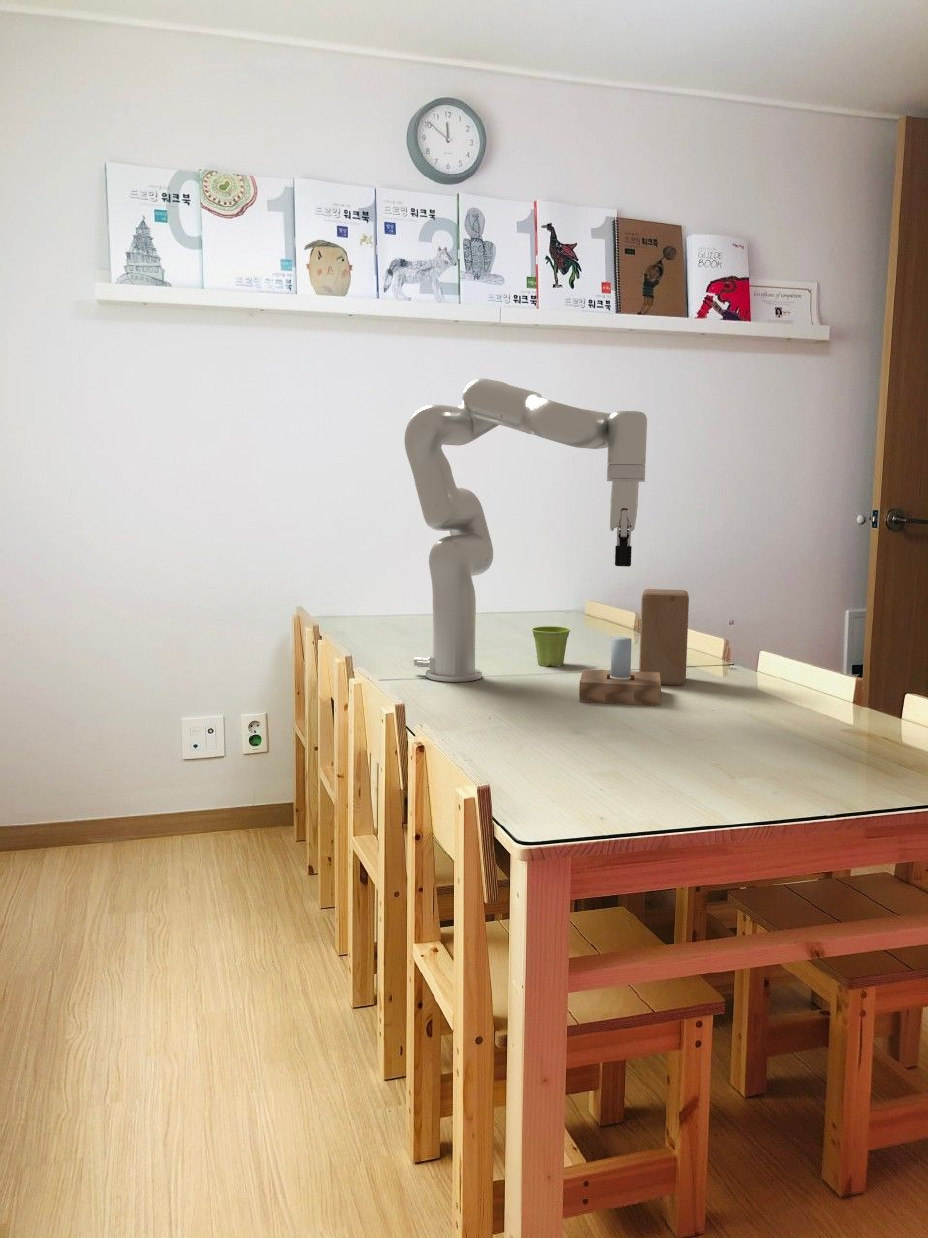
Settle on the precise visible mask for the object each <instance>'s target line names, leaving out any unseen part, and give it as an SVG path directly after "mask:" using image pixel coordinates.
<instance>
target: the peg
mask: <svg viewBox="0 0 928 1238" xmlns="http://www.w3.org/2000/svg"><path fill="white" fill-rule="evenodd" d="M610 648H611V649H610V650H611V652H610V653H611V655H610V670H611V675H610V679H611V680H630V679H631V676H630V672H631V667H632V665H631V662H632V638H630V637H624V636H618V637H617V636H616V637H612V638H611V647H610Z"/></svg>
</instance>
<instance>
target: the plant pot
mask: <svg viewBox="0 0 928 1238" xmlns="http://www.w3.org/2000/svg"><path fill="white" fill-rule="evenodd" d="M530 630H531V632H532V635H533V637H534V644H535V650H536V658H537V659H536V660H537V664H538V666H543V667H548V666H549V667H550V666H552V667H560V666H563V665H564V664H565V663H564V662H565V656H566V649H567V643H568V638H569V635H570V632H572V631H571V628H570V627H567V626H566V627H565V626H557V625H555V626H554V625H552V626H551V625H550V626H549V625H548V626H547V625H546V626H536V627H535V626H534V627H532V628H531V629H530Z"/></svg>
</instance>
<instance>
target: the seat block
mask: <svg viewBox="0 0 928 1238" xmlns="http://www.w3.org/2000/svg"><path fill="white" fill-rule="evenodd" d="M580 675H581V676H580V679H579V688H578V689H579V691H578V692H579V695H578V702H579V703H593V704H595V703H596V704H622V705H640V706H642V705H643V706H661V704H662V703H661V699H662V698H661V697H662V696H661V695H662V685H661V680H660V673H659V672H639V671H636V670H633V671H631V672H630V676H631V679H630V680H611V679H610V675H611V669H609V670H608V669H606V670H604V669H603V670H602V669H582V673H581V674H580Z"/></svg>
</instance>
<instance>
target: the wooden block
mask: <svg viewBox="0 0 928 1238" xmlns="http://www.w3.org/2000/svg"><path fill="white" fill-rule="evenodd" d="M640 603H641V604H640V606H641V607H640V633H639V634H640V635H639V637H640V638H639V643H640V644H639V660H638V661H639V665H638V666H639V668H638V669H639V670H638V672H659V673H660V680H661V686H684V685H685V683H686V681H687V680H686V679H687V660H688V659H687V657H688V635H689V633H688V629H689V608H690V607H689V605H690V597H689V593H688V590H685V589H664V588H663V589H662V588H661V589H658V588H656V589H655V588H647V589H644V590H643V592H642V594H641V602H640Z"/></svg>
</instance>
